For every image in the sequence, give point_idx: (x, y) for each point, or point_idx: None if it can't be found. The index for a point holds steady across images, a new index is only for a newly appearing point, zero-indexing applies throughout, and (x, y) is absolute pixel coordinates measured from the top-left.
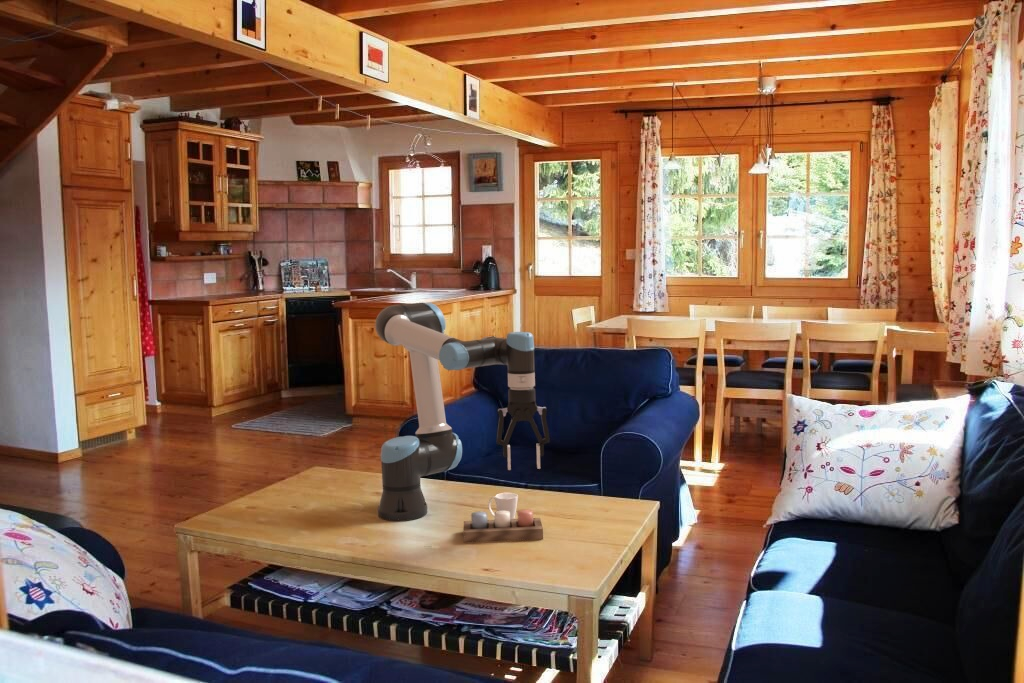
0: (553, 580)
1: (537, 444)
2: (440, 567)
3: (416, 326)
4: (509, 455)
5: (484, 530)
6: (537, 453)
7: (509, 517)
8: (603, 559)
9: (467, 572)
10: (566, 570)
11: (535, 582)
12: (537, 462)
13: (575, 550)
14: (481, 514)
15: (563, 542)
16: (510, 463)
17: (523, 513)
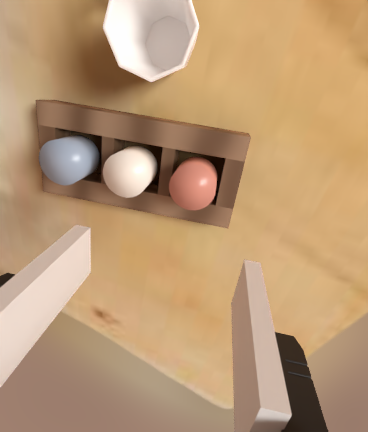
0: (189, 375)
1: (261, 430)
2: None
3: None
4: (35, 333)
5: (90, 194)
6: (234, 389)
7: (147, 185)
8: None
9: (72, 313)
10: (219, 356)
11: (163, 371)
12: (233, 327)
13: (268, 293)
14: (66, 171)
15: (264, 248)
16: (71, 294)
17: (183, 201)
